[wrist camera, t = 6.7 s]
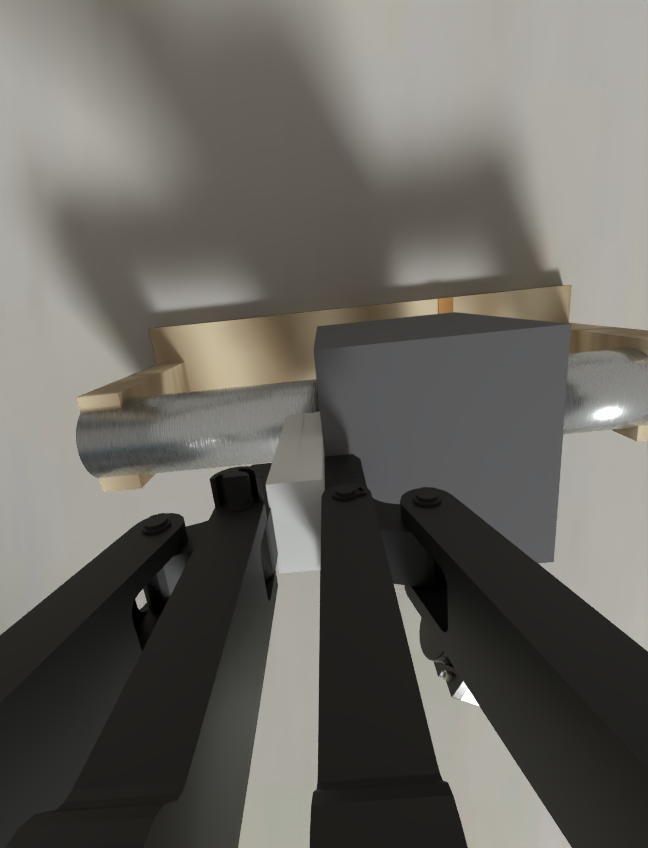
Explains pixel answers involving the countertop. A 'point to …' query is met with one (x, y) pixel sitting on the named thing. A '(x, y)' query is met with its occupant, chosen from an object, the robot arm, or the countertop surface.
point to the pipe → (270, 404)
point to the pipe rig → (294, 342)
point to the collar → (453, 413)
